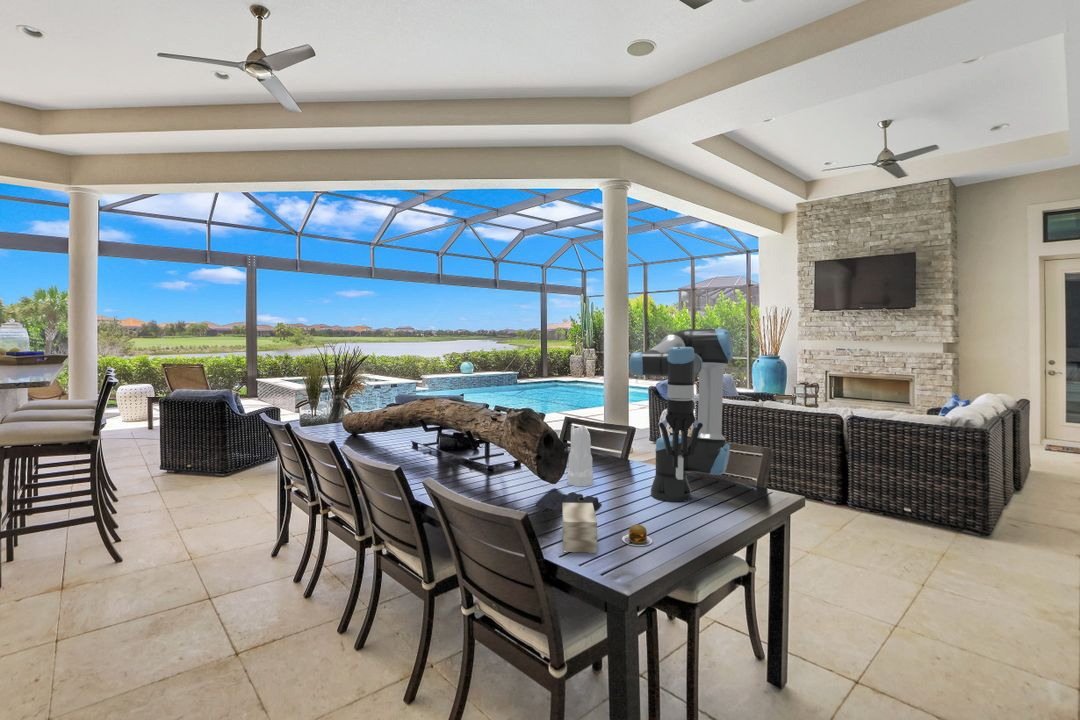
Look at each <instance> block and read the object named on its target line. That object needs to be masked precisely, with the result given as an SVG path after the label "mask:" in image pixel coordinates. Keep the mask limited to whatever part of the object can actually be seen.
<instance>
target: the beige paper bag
mask: <svg viewBox="0 0 1080 720" xmlns="http://www.w3.org/2000/svg"><path fill="white" fill-rule="evenodd" d="M561 513H562V514H561V515H562V520H561V521H562V523H561V525H562V527H561V529H562V530H561V531H562V549H563V551H566V552H565V553H568V552H588V553H587V554H596V553H598V520H597V515H596V511H594V507H593V503H562V512H561Z"/></svg>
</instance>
